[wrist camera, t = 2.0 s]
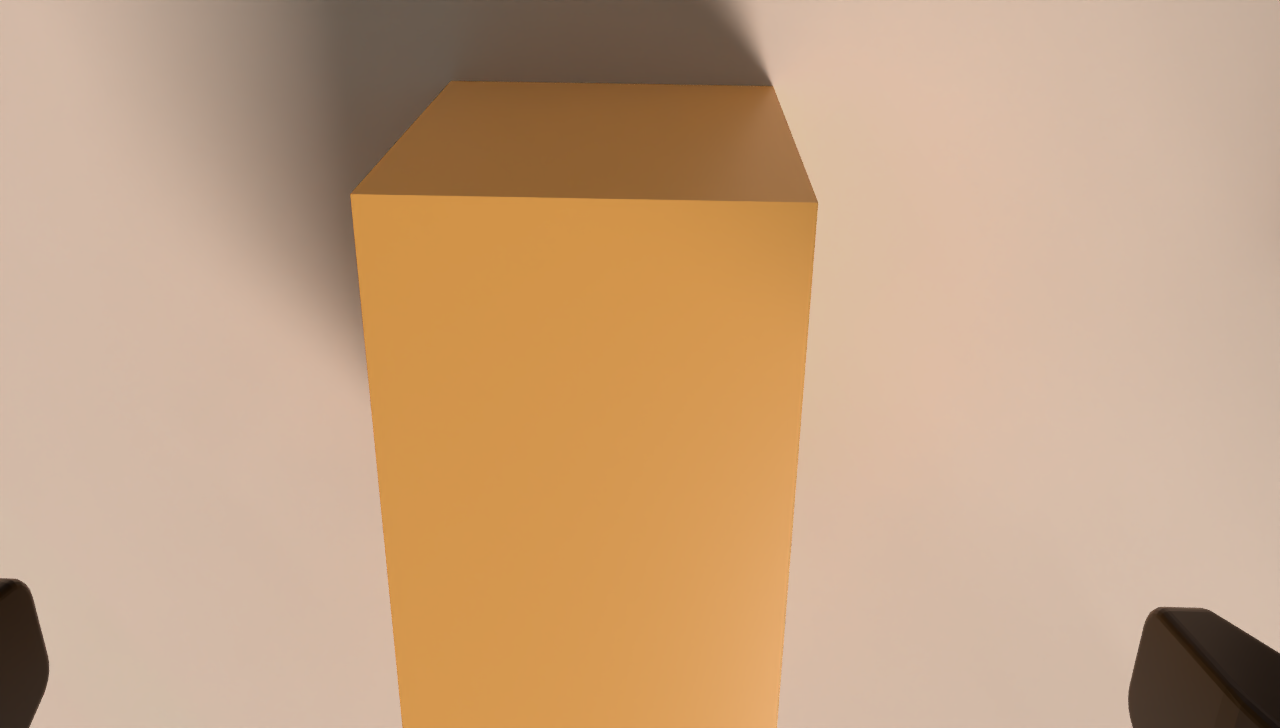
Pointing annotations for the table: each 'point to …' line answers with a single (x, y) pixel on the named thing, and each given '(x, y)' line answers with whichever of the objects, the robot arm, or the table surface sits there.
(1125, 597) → the table surface
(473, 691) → the tan cardboard box
